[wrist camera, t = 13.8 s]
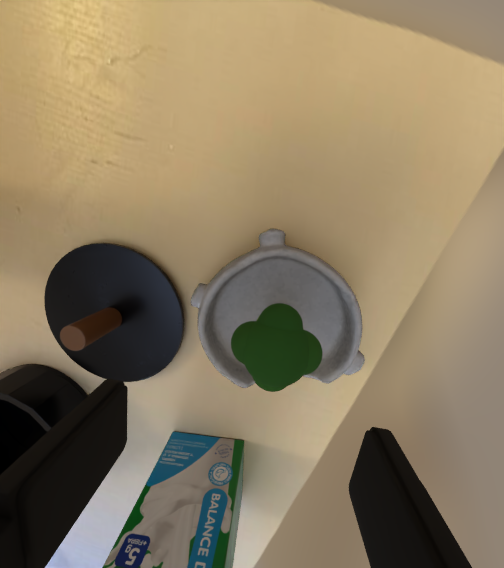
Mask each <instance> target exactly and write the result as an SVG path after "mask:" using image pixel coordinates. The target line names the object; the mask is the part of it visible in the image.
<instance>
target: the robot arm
mask: <svg viewBox="0 0 504 568" xmlns="http://www.w3.org/2000/svg"><path fill="white" fill-rule="evenodd" d="M126 442H127V386H124V382H123V381H118V380H113V379H107V380H105V381H104V382H103V383H102V384H101V385H100V386H98V387H97V388H96V389H95V390H94V391H93V392H92V393H91V394H90V395H89V396H88V397H86V398H85V399H84V400H83V401H82V402H81V403H80V404H79V405H78V406H77V407H76V408H74V409H73V410H72V411H71V412H70V413H69V414H67V415H66V416H65V417H63V418H62V419H61V420H60V421H59V422H58V423H57V424H56V425H55V426H53V427H52V428H51V429H50V430H49V431H48V432H47V433H46V434H45V435H44V436H42V437H41V438H40V439H39V440H38V441H37V442H36V443H35V444H34V445H33V446H31V447H30V448H29V449H28V450H27V451H26V452H25V453H24V454H23V455H22V456H20V457H19V458H18V459H17V460H16V461H15V462H14V463H13V464H12V465H11V466H9V467H8V468H7V469H6V470H5V471H4V472H3V473H2V474H1V475H0V568H45V566H46V565H47V564H48V562H49V561H50V559H51V558H52V556H53V555H54V553H55V552H56V550H57V549H58V547H59V546H60V544H61V543H62V541H63V540H64V538H65V537H66V535H67V534H68V532H69V531H70V529H71V528H72V526H73V525H74V523H75V522H76V520H77V519H78V517H79V516H80V514H81V513H82V511H83V510H84V508H85V507H86V505H87V504H88V502H89V501H90V499H91V498H92V496H93V495H94V493H95V492H96V490H97V489H98V487H99V486H100V484H101V483H102V481H103V480H104V478H105V477H106V475H107V474H108V472H109V471H110V469H111V468H112V466H113V465H114V463H115V462H116V460H117V459H118V457H119V456H120V454H121V453H122V451H123V450H124V448H125V445H126ZM349 494H350V498H351V501H352V505H353V508H354V511H355V515H356V518H357V522H358V525H359V529H360V532H361V536H362V539H363V542H364V546H365V549H366V553H367V556H368V559H369V562H370V566H371V568H472V567H471V565H470V563H469V562H468V560H467V558H466V557H465V555H464V553H463V551H462V550H461V548H460V546H459V545H458V543H457V541H456V540H455V538H454V536H453V535H452V533H451V531H450V529H449V528H448V526H447V524H446V523H445V521H444V519H443V518H442V516H441V514H440V513H439V511H438V509H437V507H436V506H435V504H434V502H433V501H432V499H431V497H430V496H429V494H428V492H427V490H426V489H425V487H424V486H423V484H422V483H421V481H420V480H419V478H418V477H417V475H416V473H415V472H414V470H413V468H412V466H411V465H410V463H409V461H408V460H407V458H406V456H405V454H404V453H403V451H402V450H401V448H400V446H399V444H398V443H397V441H396V439H395V437H394V436H393V434H392V433H391V431H389V430H387V429H381V428H375V427H372V428H371V429H370V431H366V433H365V436H364V439H363V442H362V445H361V448H360V451H359V455H358V458H357V461H356V464H355V467H354V470H353V473H352V477H351V480H350V483H349Z"/></svg>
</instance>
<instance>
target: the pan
mask: <svg viewBox="0 0 504 568" xmlns="http://www.w3.org/2000/svg"><path fill="white" fill-rule="evenodd" d="M86 397H88V396H87V394H86V393H85V392H84V390H83V389H82V388H81V387H80V386H79V385H78V384H77V383H76V382H75V381H73V380H72V379H71V378H69V377H68V376H66V375H65V374H63V373H61V372H59V371H58V370H55V369H53V368H50V367H47V366H43V365H37V364H26V365H20V366H17V367H14V368H12V369H8V370H6V371H4V372H2V373H0V475H1V474H2V473H3V472H4V471H5V470H6V469H7V468H8V467H9V466H11V465H12V464H13V463H14V462H15V461H16V460H17V459H18V458H19V457H20V456H22V455H23V454H24V453H25V452H26V451H27V450H28V449H29V448H30V447H31V446H33V445H34V444H35V443H36V442H37V441H38V440H39V439H40V438H41V437H42V436H44V435H45V434H46V433H47V432H48V431H49V430H50V429H51V428H52V427H53V426H55V425H56V424H57V423H58V422H59V421H60V420H61V419H62V418H63V417H65V416H66V415H67V414H69V413H70V412H71V411H72V410H73V409H74V408H76V407H77V406H78V405H79V404H80V403H81V402H82V401H83V400H84V399H85V398H86Z"/></svg>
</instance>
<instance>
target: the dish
mask: <svg viewBox="0 0 504 568" xmlns="http://www.w3.org/2000/svg"><path fill="white" fill-rule="evenodd" d="M259 242H260V247H259V248H257V249H255V250H252V251H250V252H248V253H246V254H244V255H242V256H240V257H238V258H236V259H235V260H233V261H231V262H230V263H229V264H227V265H226V266H225V267H224V268H222V269H221V270H220V271H219V272H218V273H217V274H216V275H215V277H214V278H213V279H212V280H211V281H210V283H209V284H203V283H200V284H199V285H198V287H197V288H196V289H195V291H194V293H193V295H192V298H191V305H192V306H194V307H197V308H198V309H199V313H198V331H199V337H200V340H201V343H202V347H203V349H204V351H205V353H206V354H207V356H208V358H209V360H210V361H211V363H212V364H213V365H214V367H215V368H216V369H217V370H218V371H219V372H220V373H221V374H222V375H223V376H225V377H226V378H228V379H229V380H231V381H232V382H233V383H234V384H236V385H238V386H240V387H242V388H247V387H249V386H251V385H253V384H254V383H255V381H254V380H253V377H252V376H251V375H250V373H249V372H248V370H247V369H246V367H245V365H244V364H242V363H241V362H239V361H238V360H237V359H236V358H235V356H234V354H233V352H232V349H231V338H232V335H233V333H234V331H235V330H236V328H237V327H238V326H240V325H241V324H243V323H245V322H248V321H257V319H258V317H259V315H260V314H261V313H262V311H263V310H264V309H265V308H267V307H268V306H270V305H272V304H276V303H284V304H287V305H290V306H292V307H293V308H294V309H295V310H297V312H298V313H299V314H300V316H301V318H302V322H303V329H304V330H306V331H309V332H311V333H312V334H313V335H314V336H316V338H317V339H318V340H319V342H320V344H321V347H322V352H323V353H322V360H321V363H320V365H319V366H318V368H317V369H316V370H315V371H314V372H312V373H310V374H307V375H303V376H305V377H309V378H314V379H317V380H320V381H322V382H323V383H330V382H332V381H334V380H336V379H337V378H339V377H340V376H341V375H342V374H343V373H344V374H346V375H351V374H353V373H356V372H357V371H359V370H360V369H361V368H362V366H363V364H364V361H365V359H364V355H363V354H362V353H361V352H360V351H359V350H358V349H359V346H360V341H361V336H362V316H361V311H360V307H359V305H358V302H357V299H356V297H355V295H354V293H353V291H352V289H351V287H350V286H349V285H348V283H347V282H346V281H345V279H344V278H343V277H342V276H341V275H340V274H339V273H338V272H337V271H336V270H335V269H334V268H332V267H331V266H330V265H329V264H327V263H326V262H324V261H323V260H321V259H320V258H318V257H316V256H315V255H313V254H311V253H308V252H306V251H304V250H301V249H298V248H294V247H289V246H287V245H285V233H284V231H282V230H278V229H269V230H267V231H266V232H263V233H261V234H260V235H259Z"/></svg>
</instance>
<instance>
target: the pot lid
mask: <svg viewBox="0 0 504 568" xmlns="http://www.w3.org/2000/svg"><path fill="white" fill-rule="evenodd" d="M45 311H46V316H47V320H48V323H49V326H50V328H51V331H52V333H53V335H54V337H55V339H56V340H57V342H58V343H59V345H60V346H61V348H62V349H63V350H64V351H65V353H66V354H67V355H68V356H69V357H70V358H71V359H72V360H73V361H75V362H76V363H77V364H78V365H80V366H81V367H82V368H84V369H85V370H87V371H89V372H91V373H93V374H95V375H97V376H99V377H102V378H105V379H113V380H118V381H123V382H132V381H139V380H143V379H146V378H149V377H152V376H154V375H155V374H157V373H159V372H160V371H161V370H163V369H164V368H165V367H166V366H167V365H168V364H169V363H170V362H171V361H172V360H173V358H174V357H175V355H176V354H177V352H178V350H179V348H180V345H181V342H182V339H183V333H184V314H183V308H182V304H181V301H180V298H179V296H178V293H177V291H176V289H175V287H174V286H173V284H172V282H171V281H170V279H169V278H168V277H167V275H166V274H165V273H164V272H163V271H162V270H161V268H160V267H159V266H157V265H156V264H155V263H154V262H153V261H152V260H150V259H149V258H147V257H146V256H145V255H143V254H141V253H139V252H137V251H135V250H133V249H131V248H128V247H125V246H122V245H117V244H110V243H96V244H89V245H84V246H82V247H79V248H76V249H74V250H73V251H71V252H69V253H68V254H66V255H65V256H64V257H63V258H61V259H60V261H59V262H58V263H57V264H56V265H55V267H54V268H53V270H52V271H51V273H50V276H49V278H48V281H47V285H46V289H45Z"/></svg>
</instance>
